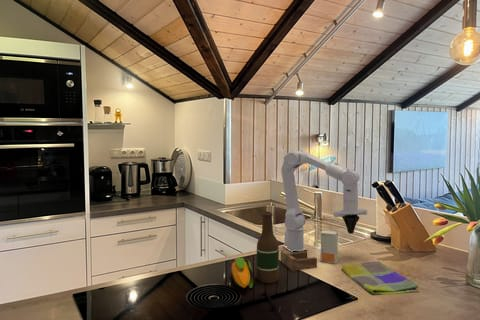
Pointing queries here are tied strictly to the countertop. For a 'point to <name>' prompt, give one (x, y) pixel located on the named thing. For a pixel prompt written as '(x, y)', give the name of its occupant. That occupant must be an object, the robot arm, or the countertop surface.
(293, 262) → the caddy
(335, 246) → the skincare box
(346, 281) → the countertop surface
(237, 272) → the corn
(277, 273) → the beer bottle
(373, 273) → the dish towel
